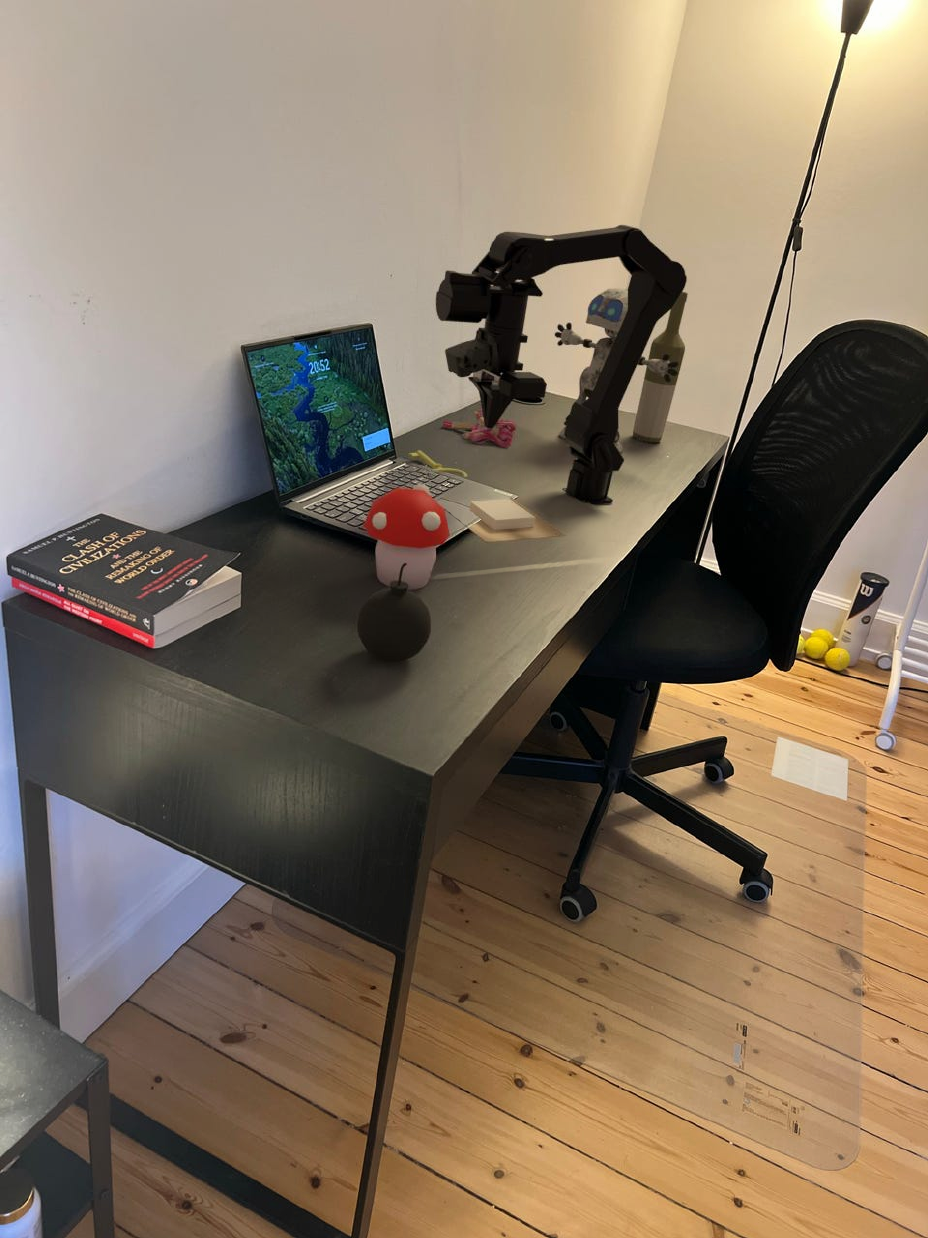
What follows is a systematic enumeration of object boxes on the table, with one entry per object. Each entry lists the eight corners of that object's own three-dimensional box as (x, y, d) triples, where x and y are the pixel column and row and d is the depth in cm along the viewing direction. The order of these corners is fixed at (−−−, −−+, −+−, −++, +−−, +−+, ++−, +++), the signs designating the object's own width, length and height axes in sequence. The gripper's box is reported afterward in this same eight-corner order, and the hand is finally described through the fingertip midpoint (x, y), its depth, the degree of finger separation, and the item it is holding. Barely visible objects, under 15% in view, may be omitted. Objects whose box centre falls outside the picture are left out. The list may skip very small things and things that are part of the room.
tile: (509, 499, 148) (535, 517, 142) (507, 508, 148) (533, 527, 143) (470, 501, 144) (495, 520, 139) (469, 511, 145) (494, 530, 139)
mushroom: (411, 605, 115) (423, 512, 110) (340, 575, 120) (348, 485, 114) (458, 580, 123) (471, 493, 118) (390, 553, 128) (400, 468, 123)
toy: (440, 444, 187) (512, 457, 183) (432, 433, 181) (507, 446, 177) (450, 410, 188) (522, 422, 184) (442, 397, 182) (517, 410, 178)
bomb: (349, 638, 105) (359, 539, 100) (419, 639, 108) (432, 542, 102) (358, 675, 99) (369, 570, 93) (432, 675, 101) (448, 573, 96)
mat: (509, 500, 154) (509, 496, 154) (565, 538, 142) (565, 535, 142) (433, 504, 147) (434, 500, 147) (485, 545, 135) (486, 542, 135)
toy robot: (517, 423, 197) (543, 272, 184) (556, 418, 205) (583, 273, 191) (633, 471, 178) (671, 307, 165) (670, 465, 186) (710, 307, 172)
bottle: (623, 434, 201) (656, 287, 188) (647, 433, 205) (681, 289, 191) (645, 445, 196) (681, 295, 183) (669, 443, 200) (706, 296, 186)
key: (417, 460, 167) (418, 448, 166) (472, 482, 161) (473, 470, 160) (389, 467, 161) (391, 455, 161) (445, 490, 155) (447, 477, 154)
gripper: (426, 309, 143) (415, 410, 150) (490, 338, 129) (474, 448, 136) (489, 311, 148) (475, 409, 156) (556, 340, 135) (538, 446, 142)
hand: (488, 427), depth 147 cm, fingers closed
